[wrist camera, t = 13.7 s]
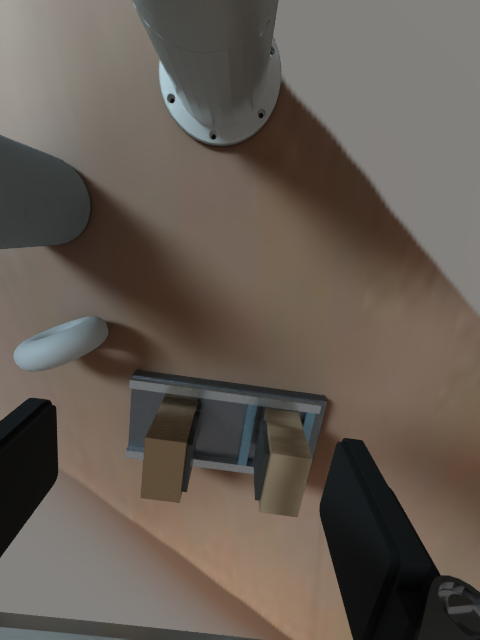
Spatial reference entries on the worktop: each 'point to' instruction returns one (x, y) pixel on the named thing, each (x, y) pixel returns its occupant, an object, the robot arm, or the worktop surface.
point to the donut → (61, 344)
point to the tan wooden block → (281, 463)
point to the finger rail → (204, 427)
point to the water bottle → (39, 198)
